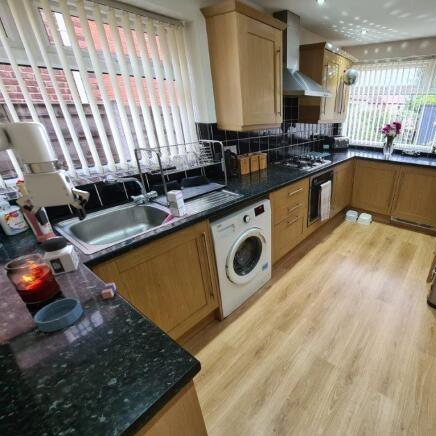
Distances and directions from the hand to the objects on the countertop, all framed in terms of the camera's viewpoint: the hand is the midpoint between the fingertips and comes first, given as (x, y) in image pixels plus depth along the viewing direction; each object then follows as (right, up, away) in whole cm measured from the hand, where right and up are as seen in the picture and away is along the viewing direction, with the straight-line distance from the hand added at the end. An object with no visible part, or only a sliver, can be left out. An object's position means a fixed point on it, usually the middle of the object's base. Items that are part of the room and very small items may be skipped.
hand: (64, 221), depth 77 cm
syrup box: (+5, +3, +69) cm, 69 cm away
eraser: (+11, -24, +5) cm, 27 cm away
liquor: (-45, -10, +40) cm, 61 cm away
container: (-17, -19, +18) cm, 31 cm away
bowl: (+5, -29, -5) cm, 30 cm away
